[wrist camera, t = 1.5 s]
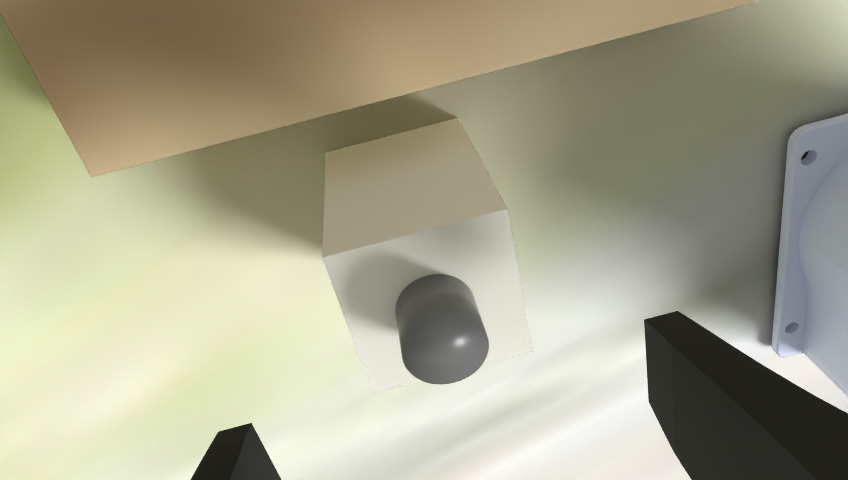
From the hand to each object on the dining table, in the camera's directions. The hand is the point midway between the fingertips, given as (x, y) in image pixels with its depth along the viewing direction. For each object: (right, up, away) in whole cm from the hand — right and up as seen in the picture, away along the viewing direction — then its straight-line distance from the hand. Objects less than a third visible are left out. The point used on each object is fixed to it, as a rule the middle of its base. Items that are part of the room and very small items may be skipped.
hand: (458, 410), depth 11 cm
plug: (-1, +5, +8) cm, 9 cm away
